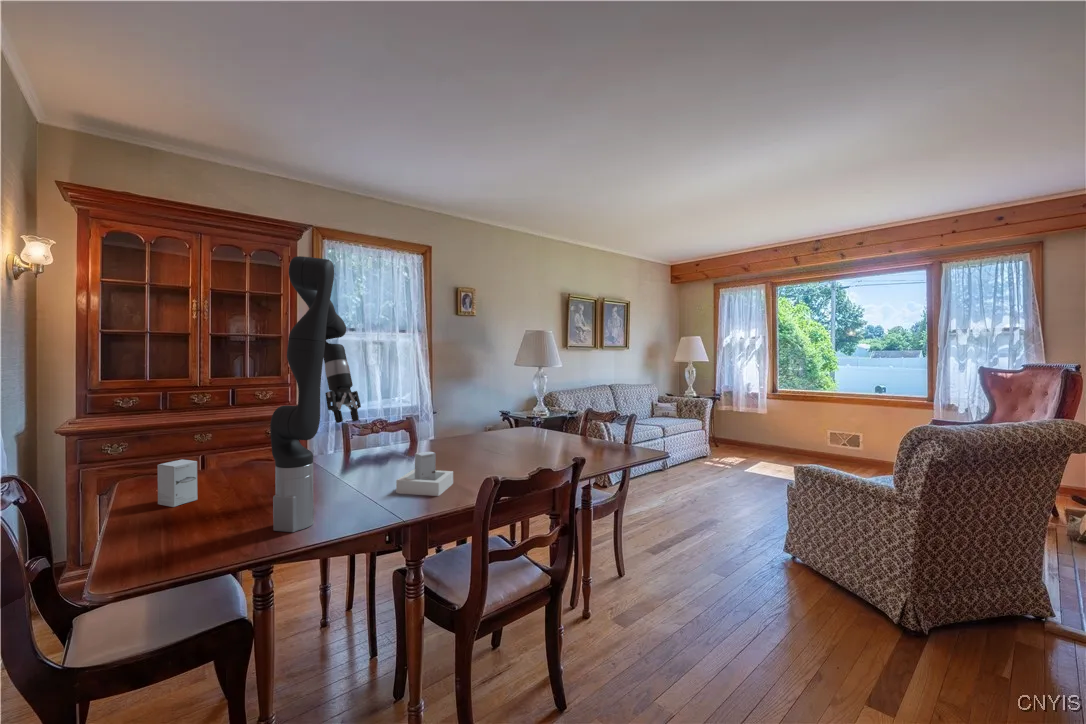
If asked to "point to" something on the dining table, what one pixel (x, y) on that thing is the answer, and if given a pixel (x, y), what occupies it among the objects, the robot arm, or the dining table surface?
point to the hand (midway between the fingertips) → (347, 421)
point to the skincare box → (425, 466)
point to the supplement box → (177, 482)
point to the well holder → (424, 484)
